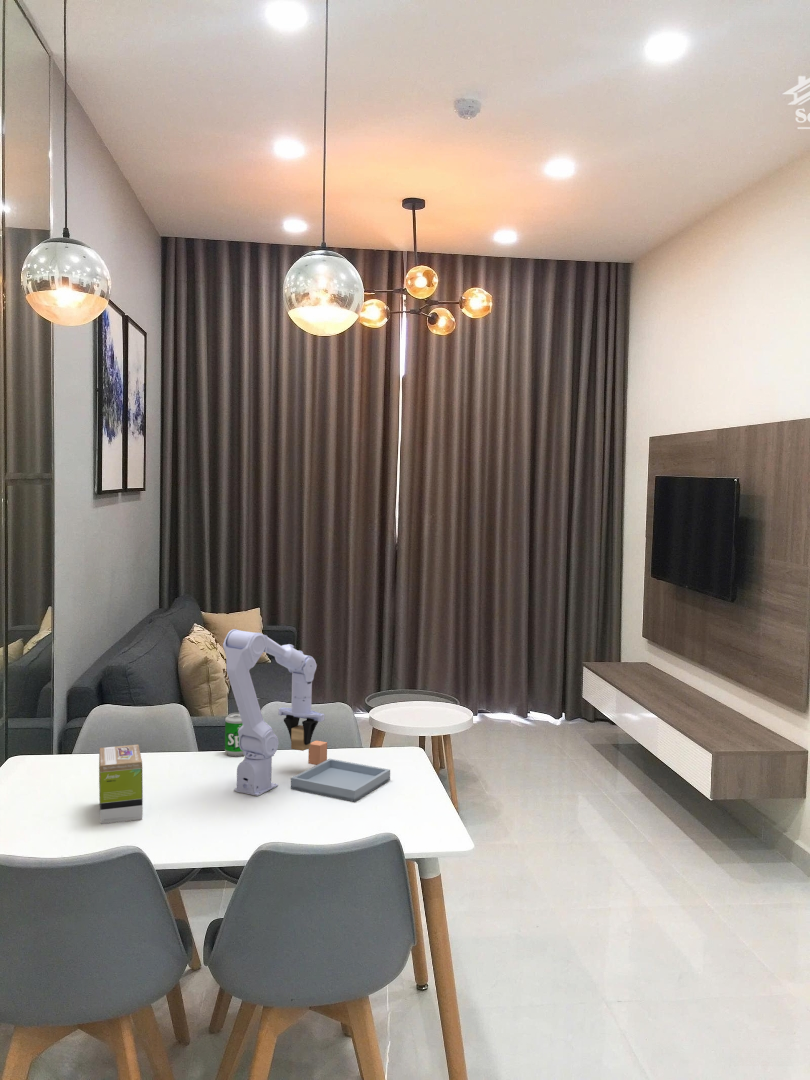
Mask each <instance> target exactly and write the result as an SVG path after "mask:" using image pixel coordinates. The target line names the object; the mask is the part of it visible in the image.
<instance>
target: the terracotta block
mask: <svg viewBox="0 0 810 1080" xmlns="http://www.w3.org/2000/svg"><path fill="white" fill-rule="evenodd" d="M326 760H328V742H327V741H326V742H325V741H322V740H314V741H311V746H310V748H308V761H307V763H308V764H309V765H314V766H316V765H318V764H320V763H322V762H324V761H326Z"/></svg>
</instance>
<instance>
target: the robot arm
mask: <svg viewBox="0 0 810 1080" xmlns="http://www.w3.org/2000/svg"><path fill="white" fill-rule="evenodd" d="M222 647H223V651H224V654H225V658H226V659H225V661H226V662H225V663H226V668H225V669H226V674H227V676H228V680H229V685H230V686H231V690H232V693H233V696H234V699H235V700H234V701H235V703H236V706H237V709H238V713H240V717H241V720H242V723H243V725H242V726H241V727H240V729H239V730H238V734H239V747H240V749H241V750H242V751H243V756H244V758H243V760H242V761H241V762H240V763H239V764H238V766H237V768H236V787H235V788H234V789H233V791H234V792H237V793H242V794H248V795H252V796H258V797H259V796H260V795H263V794H264V793H267V792H268V791H270V790H273V789H274V788H276V787H278V786H279V784H278V783H275V782H272V770H273V769H272V768H273V767H272V766H273V765H272V764H273V762H272V761H273V757H274V756H275V754H276V752H277V751H278V749H279V738H278V736H277V735H276V734H275V732H274V730H273V728H272V727H271V726H270V725H269V723H267V722H266V721H265V720H264V717H263V714H262V711H261V707H260V704H259V700H258V697H257V694H256V693H257V692H256V690H255V687H254V683H253V680H252V675H251V673H250V670H251V669H252V668H254V667H255V666H256V664H257V662H259V660H260V658H261V657H262V655H263V653H266V654H269V655H270V656H273V657H274V659H275V662H276V663H277V664H278V665H280V666H282V667H285V669H287V670H288V672H289V673H290V674H291V706H290V707H283V706H282V707H279V708H278V716H285V717H284V718H283V722H284V724H285V727H286V728H287V730H288V733H289V738H290V740H291V731H292V728H293V727H296V726H298V725H300V724H299V723H300V719H305V720H303V721H301V725H302V726H303V728H304V744H305V745H308V744H310V742H312V741H311V740H312V738H313V734H314V731H315V729H316V727H317V725H318V723H322V722H324V721H325V717H326V715H325V713H321V712H318V711H315V710H312V698H313V697H312V695H313V694H312V693H313V691H312V690H313V681H314V678H315V673H316V671H317V666H318V664H317V663H316V659H315V658H314V657H313V656H311V655H307V654H304V652H303V650H300V649H299V650H297V649H296V648H295V645H293V644H290V643H288V644H282V645H281V644H279V643H278V642H276V641H274V640H273V639H272V638H270V637H268V635H267V634H263V633H262V632H254V631H253V632H252V631H247V630H246V631H245V630H240V629H236V628H235V629H234V628H233V629H230V631H228V633H227V634H226V636H225V638H224V640H223V643H222Z"/></svg>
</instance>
